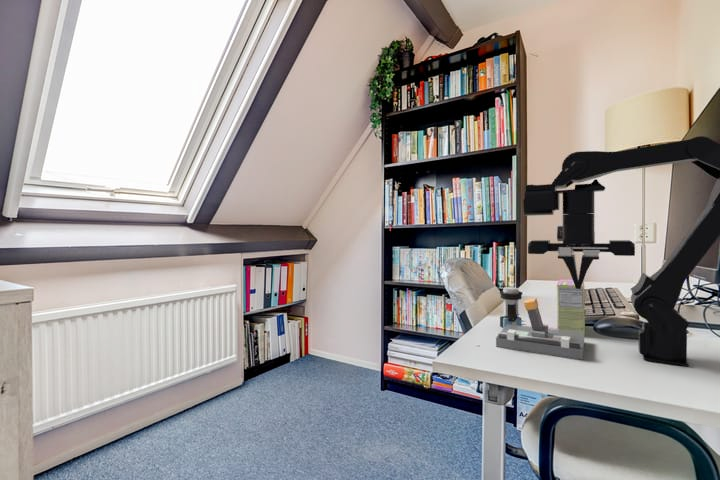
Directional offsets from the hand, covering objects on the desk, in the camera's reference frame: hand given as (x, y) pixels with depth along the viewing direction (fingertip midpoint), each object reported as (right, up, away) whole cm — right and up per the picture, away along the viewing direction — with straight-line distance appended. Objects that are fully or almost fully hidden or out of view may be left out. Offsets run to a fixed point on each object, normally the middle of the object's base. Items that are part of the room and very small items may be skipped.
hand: (578, 288), depth 77 cm
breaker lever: (-7, -10, +2) cm, 13 cm away
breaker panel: (-7, -13, +3) cm, 14 cm away
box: (+6, -12, +13) cm, 19 cm away
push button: (-7, -12, +16) cm, 21 cm away
